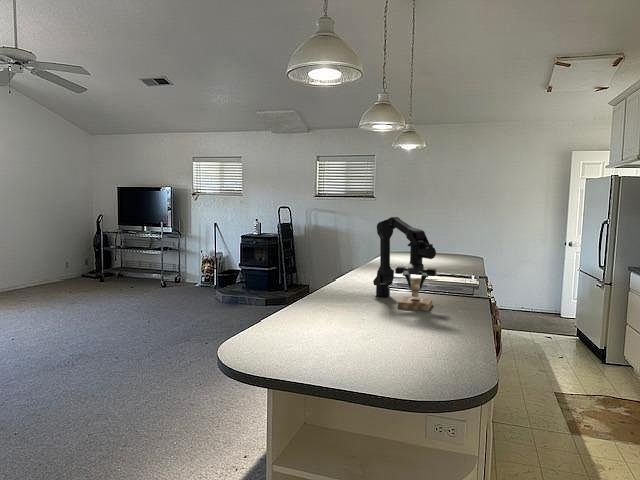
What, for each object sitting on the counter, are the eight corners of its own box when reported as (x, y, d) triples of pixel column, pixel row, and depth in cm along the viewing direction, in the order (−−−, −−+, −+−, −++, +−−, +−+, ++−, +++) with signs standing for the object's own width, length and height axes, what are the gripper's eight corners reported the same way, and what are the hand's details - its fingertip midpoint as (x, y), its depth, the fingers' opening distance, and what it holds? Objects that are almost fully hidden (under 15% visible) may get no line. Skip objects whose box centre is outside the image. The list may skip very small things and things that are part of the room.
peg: (409, 296, 214) (409, 279, 213) (411, 294, 218) (411, 277, 218) (419, 297, 212) (419, 279, 212) (420, 295, 217) (421, 278, 216)
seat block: (397, 308, 212) (397, 301, 212) (403, 302, 225) (403, 296, 225) (427, 311, 207) (428, 304, 207) (432, 304, 220) (432, 298, 220)
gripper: (393, 257, 210) (392, 290, 211) (434, 259, 203) (433, 293, 204) (398, 254, 220) (397, 286, 221) (437, 256, 213) (436, 289, 215)
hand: (415, 288), depth 215 cm, fingers closed on peg, 5 cm apart
